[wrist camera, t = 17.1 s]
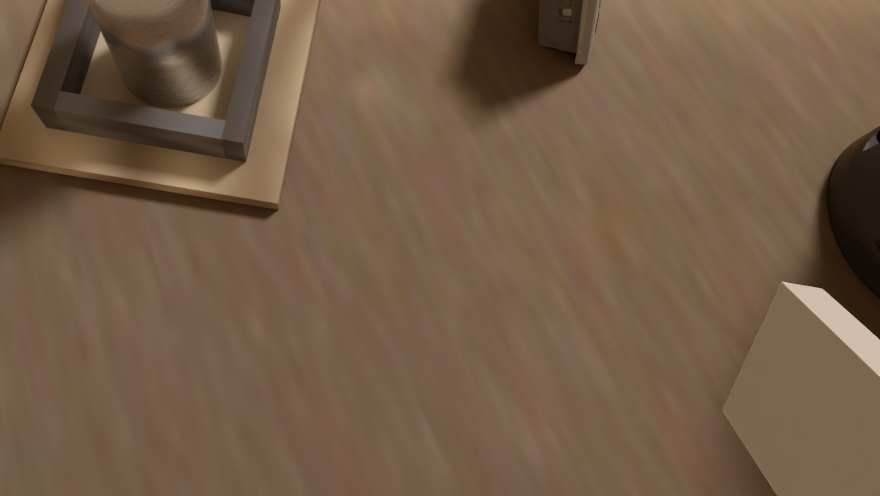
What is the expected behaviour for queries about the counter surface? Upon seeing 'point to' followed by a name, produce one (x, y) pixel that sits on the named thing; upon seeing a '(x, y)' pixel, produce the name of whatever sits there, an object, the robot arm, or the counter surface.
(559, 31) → the electrical switch
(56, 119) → the collar plate
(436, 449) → the counter surface
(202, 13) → the steel piston
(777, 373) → the robot arm
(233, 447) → the counter surface
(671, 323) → the counter surface
